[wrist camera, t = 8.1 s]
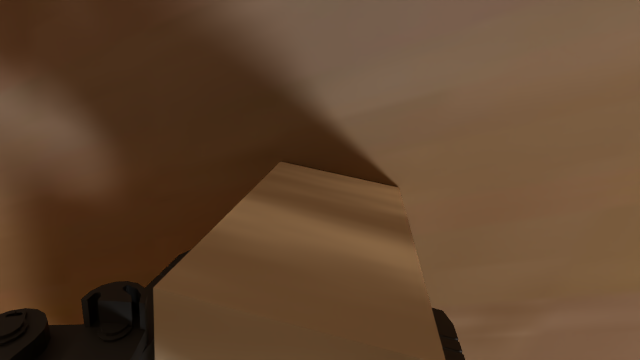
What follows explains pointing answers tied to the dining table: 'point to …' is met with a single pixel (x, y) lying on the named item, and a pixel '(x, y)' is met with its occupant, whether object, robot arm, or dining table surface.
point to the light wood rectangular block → (301, 278)
